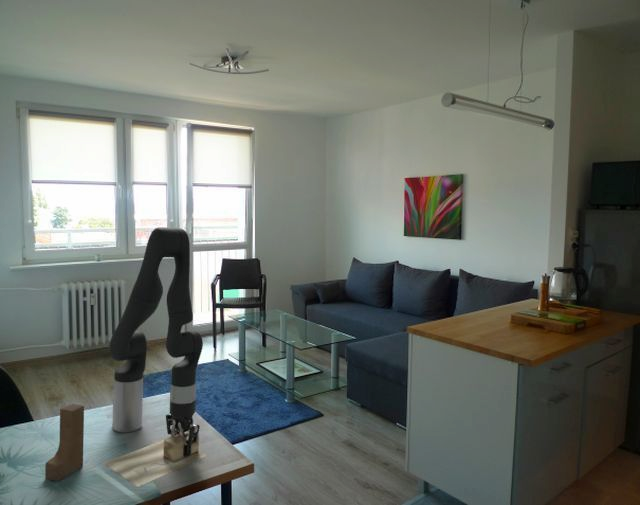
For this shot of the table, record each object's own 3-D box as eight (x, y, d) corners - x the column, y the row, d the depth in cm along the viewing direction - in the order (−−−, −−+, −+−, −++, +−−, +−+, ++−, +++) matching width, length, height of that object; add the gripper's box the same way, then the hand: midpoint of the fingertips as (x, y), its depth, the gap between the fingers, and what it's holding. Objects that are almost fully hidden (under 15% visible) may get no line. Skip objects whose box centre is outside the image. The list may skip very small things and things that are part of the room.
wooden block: (57, 482, 127) (58, 417, 126) (44, 478, 128) (45, 414, 127) (83, 466, 136) (84, 405, 134) (71, 463, 137) (72, 403, 136)
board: (103, 467, 136) (103, 463, 136) (171, 440, 154) (171, 436, 154) (137, 491, 125) (137, 486, 125) (206, 459, 143) (207, 455, 143)
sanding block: (163, 457, 140) (163, 439, 140) (188, 447, 148) (189, 430, 147) (173, 463, 137) (173, 445, 137) (198, 452, 145) (199, 435, 144)
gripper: (158, 394, 143) (156, 449, 144) (187, 408, 134) (185, 465, 135) (179, 388, 149) (177, 440, 150) (208, 400, 140) (206, 456, 141)
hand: (181, 452), depth 142 cm, fingers closed on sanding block, 5 cm apart
